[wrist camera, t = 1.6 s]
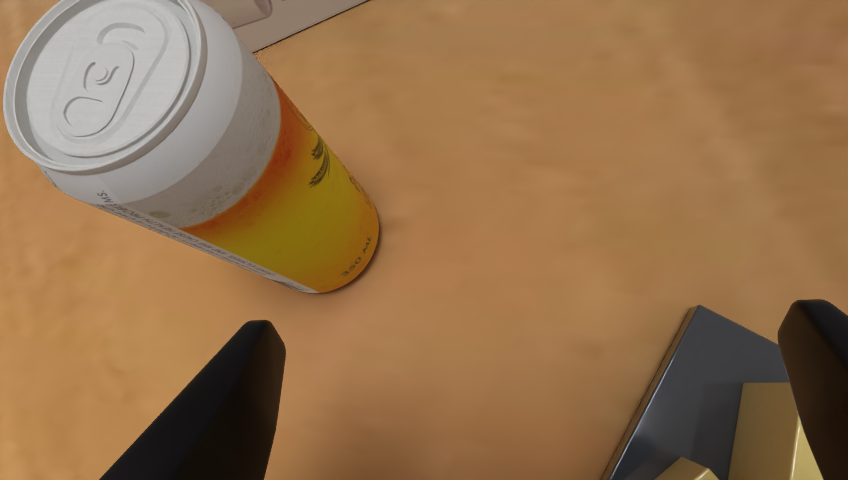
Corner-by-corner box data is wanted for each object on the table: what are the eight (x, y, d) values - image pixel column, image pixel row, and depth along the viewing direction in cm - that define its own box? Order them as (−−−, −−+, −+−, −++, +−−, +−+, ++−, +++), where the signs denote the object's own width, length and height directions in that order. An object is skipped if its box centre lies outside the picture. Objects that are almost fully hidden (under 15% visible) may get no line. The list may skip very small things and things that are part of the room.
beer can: (397, 194, 26) (253, -27, 12) (362, 309, 25) (155, 213, 11) (292, 171, 28) (53, -49, 14) (254, 279, 27) (-54, 160, 12)
